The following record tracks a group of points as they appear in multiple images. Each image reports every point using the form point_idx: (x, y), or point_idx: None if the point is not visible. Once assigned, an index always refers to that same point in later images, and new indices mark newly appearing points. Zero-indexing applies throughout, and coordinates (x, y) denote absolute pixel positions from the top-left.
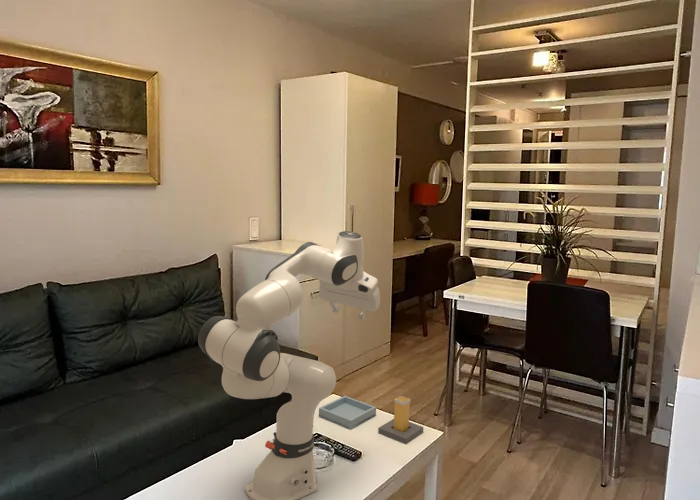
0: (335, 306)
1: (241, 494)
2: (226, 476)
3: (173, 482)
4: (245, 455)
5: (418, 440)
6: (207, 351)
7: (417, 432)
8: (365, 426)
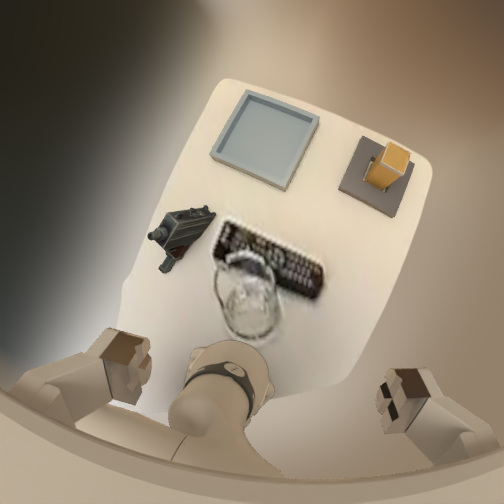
0: (104, 377)
1: None
2: None
3: None
4: (144, 324)
5: (409, 198)
6: None
7: (407, 182)
8: (309, 170)
